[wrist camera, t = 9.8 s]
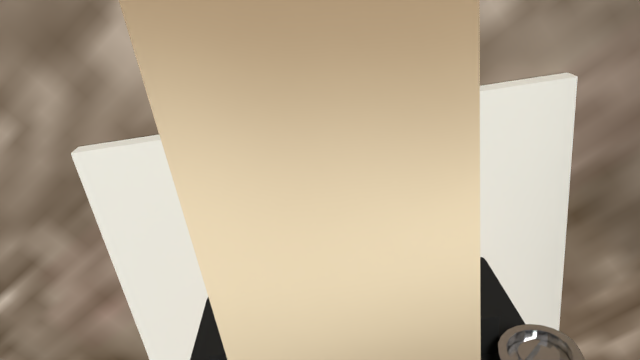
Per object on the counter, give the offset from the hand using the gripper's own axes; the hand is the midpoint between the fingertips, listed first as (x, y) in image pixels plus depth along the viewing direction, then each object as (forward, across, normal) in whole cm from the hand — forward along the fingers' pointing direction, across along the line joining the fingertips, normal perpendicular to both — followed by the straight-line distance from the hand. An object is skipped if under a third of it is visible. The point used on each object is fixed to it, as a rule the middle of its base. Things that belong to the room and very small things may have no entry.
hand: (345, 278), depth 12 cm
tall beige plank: (0, 0, 0) cm, 0 cm away
